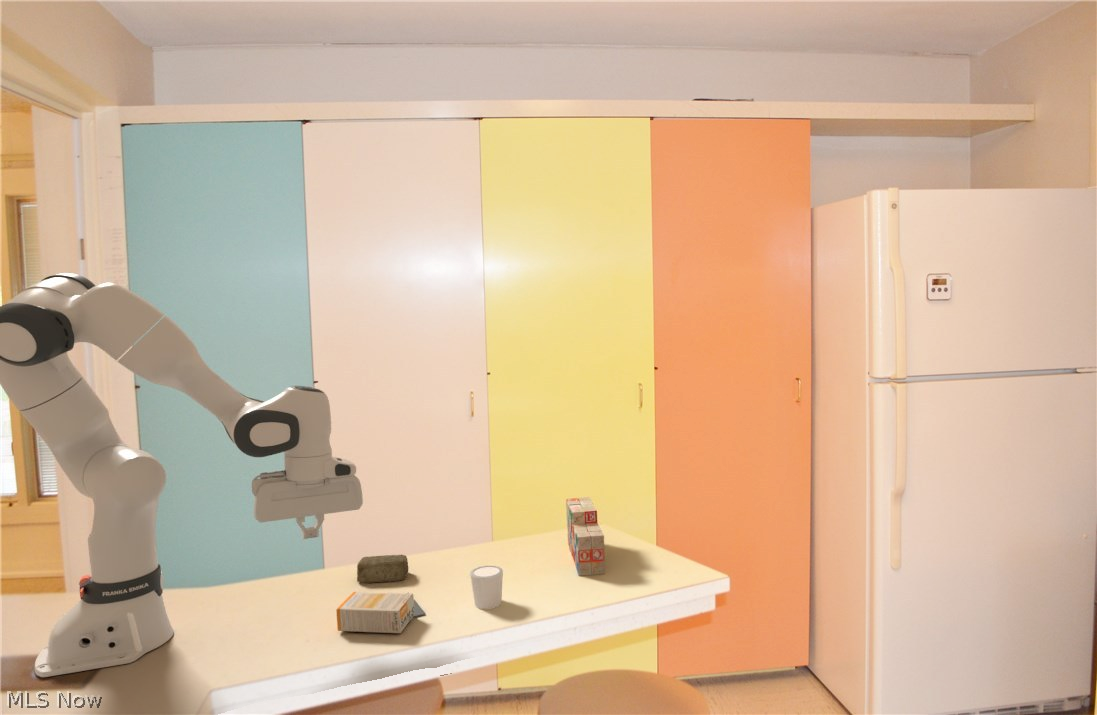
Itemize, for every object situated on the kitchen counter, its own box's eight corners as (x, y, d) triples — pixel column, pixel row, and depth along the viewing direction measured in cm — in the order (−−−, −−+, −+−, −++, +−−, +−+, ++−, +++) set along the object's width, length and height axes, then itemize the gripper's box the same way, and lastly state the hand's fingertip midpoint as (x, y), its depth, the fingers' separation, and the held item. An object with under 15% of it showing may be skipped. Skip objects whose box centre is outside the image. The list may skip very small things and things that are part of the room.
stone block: (406, 582, 161) (404, 561, 160) (355, 585, 160) (354, 564, 160) (409, 572, 167) (408, 552, 166) (360, 575, 166) (359, 555, 166)
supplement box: (337, 632, 136) (400, 635, 134) (335, 608, 136) (398, 610, 134) (355, 613, 145) (415, 615, 142) (354, 590, 144) (414, 592, 142)
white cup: (467, 601, 149) (465, 569, 148) (496, 593, 152) (495, 562, 151) (479, 613, 143) (477, 580, 142) (509, 605, 146) (508, 573, 145)
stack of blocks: (605, 574, 160) (603, 522, 159) (578, 576, 159) (576, 524, 158) (591, 542, 181) (589, 496, 180) (567, 544, 181) (565, 497, 180)
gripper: (253, 477, 129) (255, 550, 130) (364, 465, 139) (365, 533, 140) (249, 470, 135) (251, 541, 136) (356, 460, 145) (358, 526, 145)
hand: (310, 537), depth 138 cm, fingers closed
